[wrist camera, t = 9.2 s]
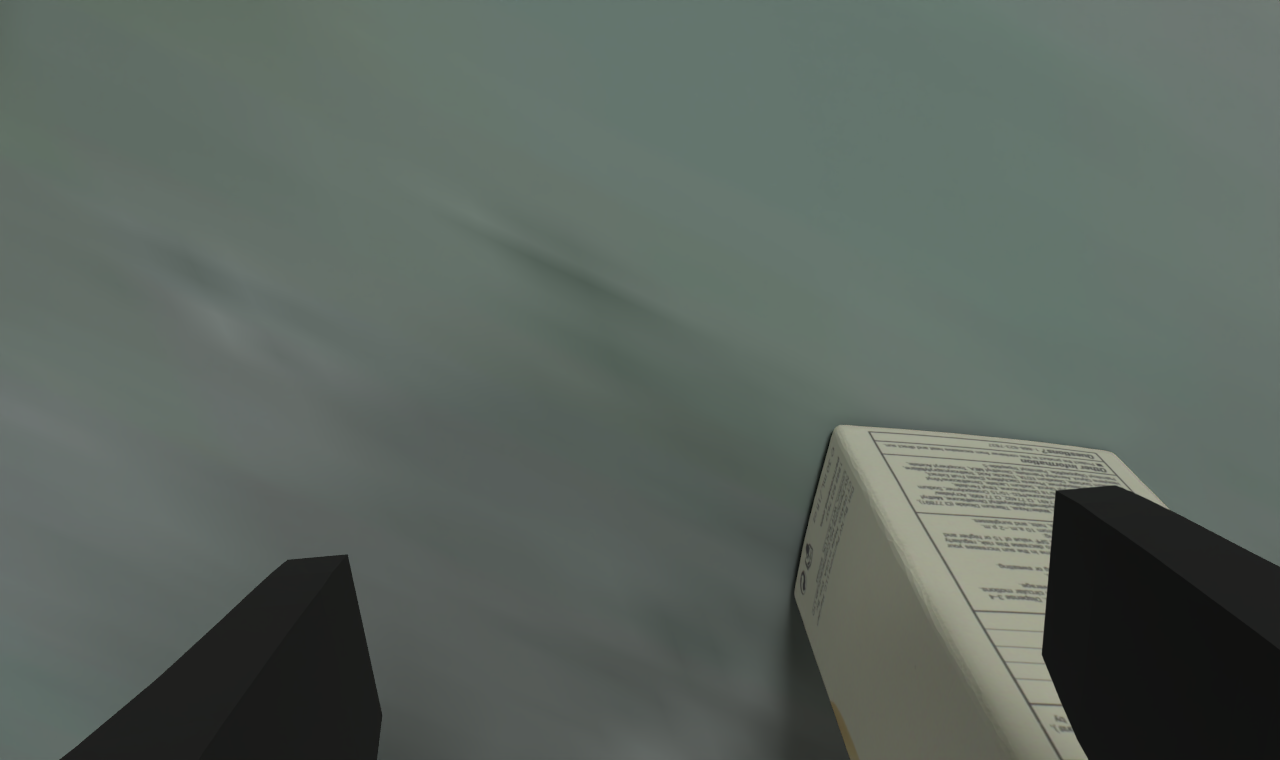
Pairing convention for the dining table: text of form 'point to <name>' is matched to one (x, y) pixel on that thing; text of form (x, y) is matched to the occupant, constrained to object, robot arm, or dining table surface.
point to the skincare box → (940, 591)
